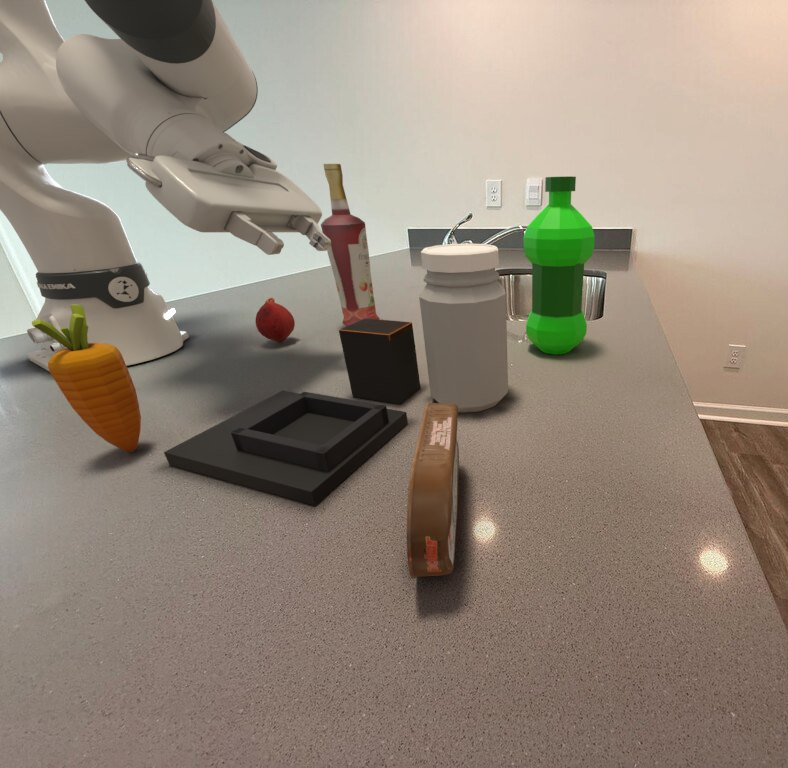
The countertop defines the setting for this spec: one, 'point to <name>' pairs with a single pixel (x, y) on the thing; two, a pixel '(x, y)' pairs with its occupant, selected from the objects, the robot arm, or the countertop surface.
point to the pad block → (381, 359)
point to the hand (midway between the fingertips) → (304, 248)
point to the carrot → (95, 382)
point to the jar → (464, 325)
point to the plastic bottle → (558, 270)
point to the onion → (274, 321)
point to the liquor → (348, 253)
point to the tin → (434, 493)
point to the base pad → (291, 444)
